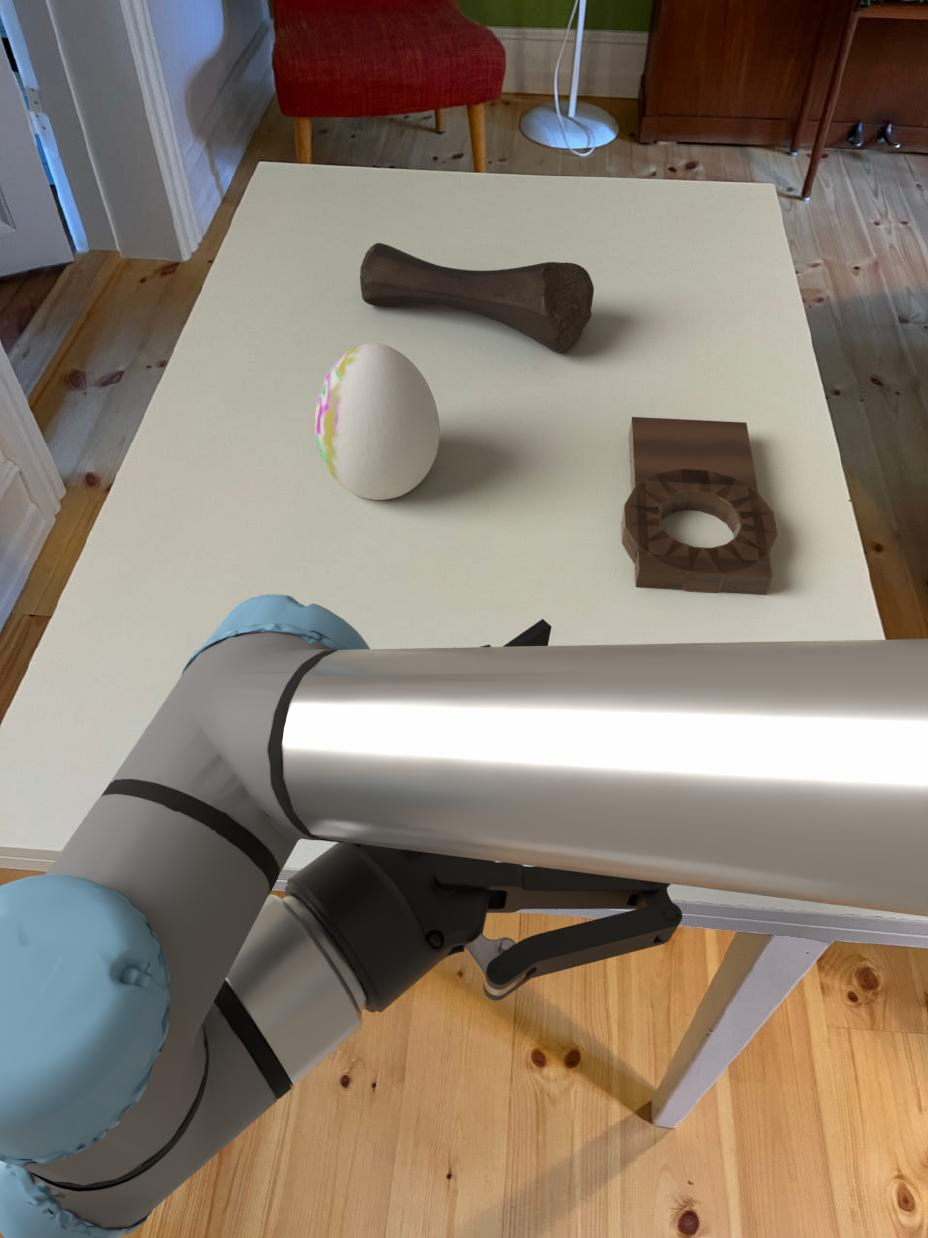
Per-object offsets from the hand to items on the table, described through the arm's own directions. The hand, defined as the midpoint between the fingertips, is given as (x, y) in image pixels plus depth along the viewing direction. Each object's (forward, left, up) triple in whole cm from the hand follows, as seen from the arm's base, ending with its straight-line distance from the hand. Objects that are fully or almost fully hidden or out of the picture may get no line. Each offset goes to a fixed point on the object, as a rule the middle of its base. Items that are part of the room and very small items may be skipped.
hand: (628, 709), depth 53 cm
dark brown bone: (+62, -35, -21) cm, 74 cm away
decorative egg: (+46, -11, -21) cm, 51 cm away
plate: (+23, -33, -21) cm, 45 cm away
